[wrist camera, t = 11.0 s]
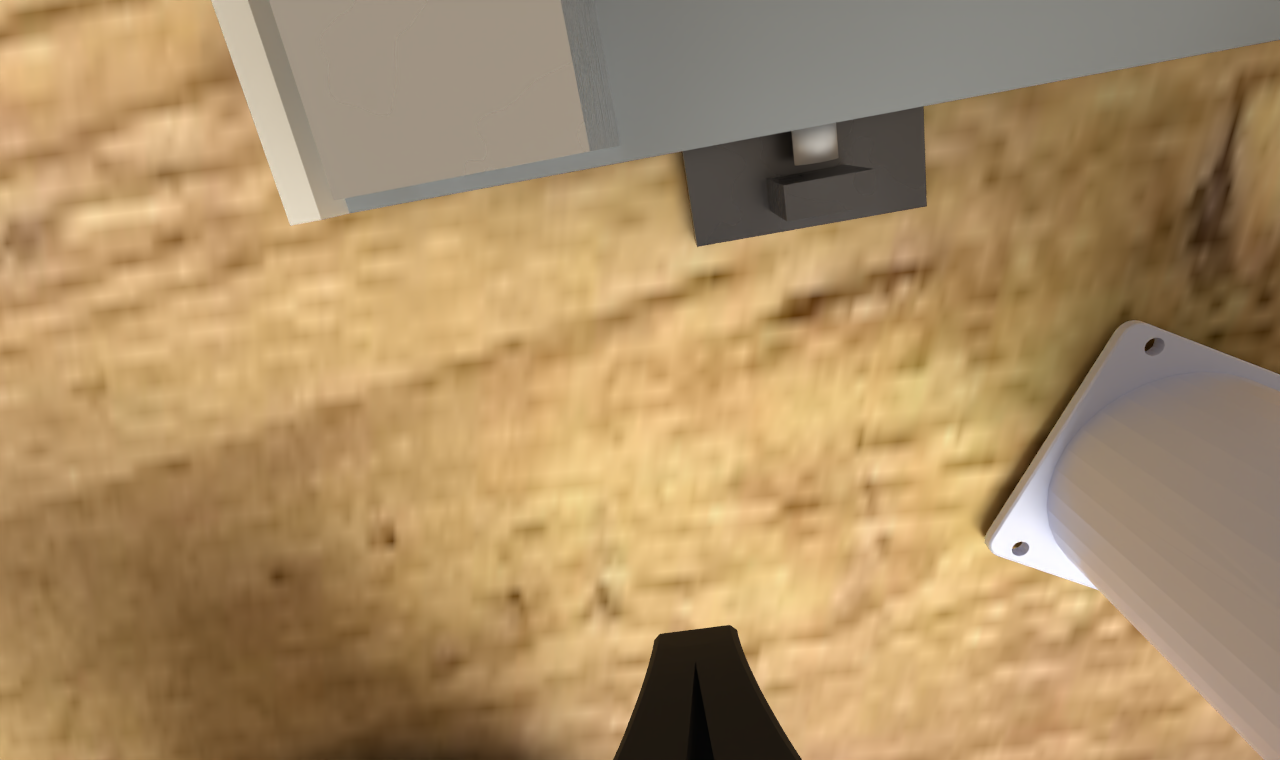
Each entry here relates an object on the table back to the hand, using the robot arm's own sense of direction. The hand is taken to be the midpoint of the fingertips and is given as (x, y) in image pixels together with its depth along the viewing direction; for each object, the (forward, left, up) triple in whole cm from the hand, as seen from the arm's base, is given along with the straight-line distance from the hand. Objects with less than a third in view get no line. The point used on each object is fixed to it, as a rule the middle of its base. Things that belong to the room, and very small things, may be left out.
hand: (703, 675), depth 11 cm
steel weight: (+8, -8, -7) cm, 13 cm away
